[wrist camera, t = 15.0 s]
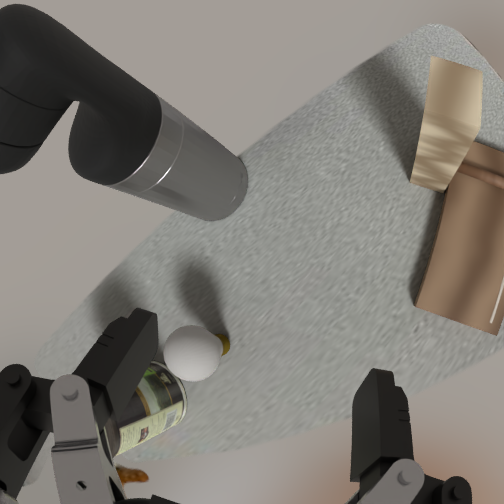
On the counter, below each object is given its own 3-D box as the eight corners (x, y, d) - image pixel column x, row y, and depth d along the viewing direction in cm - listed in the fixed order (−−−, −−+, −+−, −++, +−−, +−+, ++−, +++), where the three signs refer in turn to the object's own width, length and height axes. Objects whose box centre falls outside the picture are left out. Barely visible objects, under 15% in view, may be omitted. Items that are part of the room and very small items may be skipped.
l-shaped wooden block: (409, 182, 32) (424, 109, 17) (418, 143, 32) (431, 55, 17) (518, 222, 26) (591, 181, 12) (523, 182, 26) (588, 122, 11)
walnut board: (413, 305, 31) (415, 306, 29) (454, 142, 30) (457, 135, 28) (491, 333, 27) (496, 335, 25) (526, 170, 26) (532, 165, 24)
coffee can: (128, 356, 44) (52, 371, 31) (184, 365, 40) (106, 389, 27) (135, 419, 43) (66, 446, 30) (190, 433, 39) (121, 474, 26)
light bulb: (254, 354, 37) (212, 374, 28) (216, 373, 38) (168, 395, 29) (230, 311, 38) (183, 317, 29) (195, 332, 40) (143, 343, 31)
